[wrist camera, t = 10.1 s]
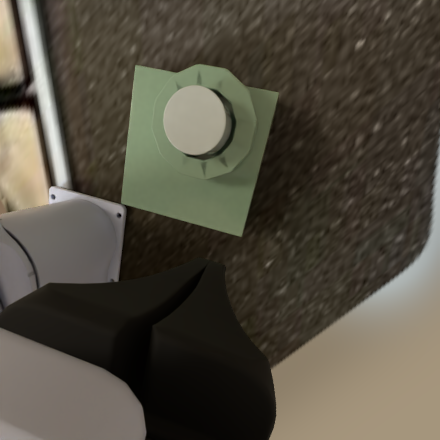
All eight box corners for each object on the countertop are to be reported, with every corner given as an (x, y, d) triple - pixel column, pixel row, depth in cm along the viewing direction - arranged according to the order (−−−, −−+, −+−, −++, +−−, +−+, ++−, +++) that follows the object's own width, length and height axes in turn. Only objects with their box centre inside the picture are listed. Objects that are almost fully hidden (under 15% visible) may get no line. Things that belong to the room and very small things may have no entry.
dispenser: (245, 226, 21) (237, 246, 17) (139, 197, 23) (104, 208, 18) (279, 98, 18) (281, 78, 14) (155, 74, 20) (118, 48, 15)
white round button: (224, 160, 16) (218, 161, 14) (172, 148, 16) (158, 147, 14) (237, 100, 15) (232, 91, 13) (181, 89, 15) (168, 78, 13)
